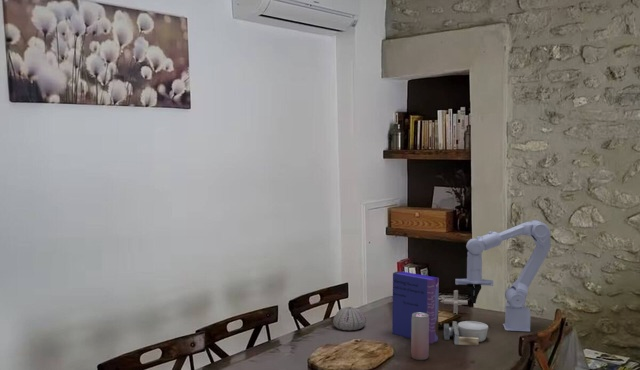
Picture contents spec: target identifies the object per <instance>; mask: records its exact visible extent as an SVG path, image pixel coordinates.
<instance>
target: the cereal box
mask: <svg viewBox="0 0 640 370" xmlns="http://www.w3.org/2000/svg"><path fill="white" fill-rule="evenodd" d="M439 282H440V278H439V277H435V276H429V275H424V274H419V273H412V272H406V271H403V270H402V271H399V270H398V271H395V272H393V273H392V318H391V319H392V325H391V327H392V329H391V331H392V332H391V333H392V335H394V336H399V337H402V338H407V339H410V340H411V317H412V314H413V313H417V312H421V313H426V314H428V315H429V345H432V344H434V343H436V342H437V343H438V341H439V297H440V296H439V291H440V290H439V289H440V287H439V285H440V284H439Z"/></svg>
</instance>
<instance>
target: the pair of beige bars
mask: <svg viewBox="0 0 640 370" xmlns="http://www.w3.org/2000/svg"><path fill="white" fill-rule="evenodd" d="M457 326H458V324H457ZM458 331H459V329H458ZM479 345H480V342H479V338H474V337H460V336H459V345H458V346H474V347H476V346H477V347H478V346H479ZM479 347H480V346H479Z"/></svg>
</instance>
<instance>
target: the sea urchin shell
mask: <svg viewBox="0 0 640 370" xmlns="http://www.w3.org/2000/svg"><path fill="white" fill-rule="evenodd" d="M332 322H333V325H334V326H335V328H337V329H339V330H343V331H357V330H360V329H362V328H363V327H364V328H365V325H366V323H367V317H366V316H365V314H364V313H363V312H362V311H361V309H359V308H355V307H352V306H348V307H343V308H340V309H339V310H338V311H337V312H336V313H335V315H334V316H333V320H332Z"/></svg>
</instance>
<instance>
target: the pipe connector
mask: <svg viewBox="0 0 640 370" xmlns="http://www.w3.org/2000/svg"><path fill="white" fill-rule="evenodd" d="M443 304H447V305H449V304H450V305H453V312H452V313H456V314H455V315H458V313H459V312H458V311H459V305H467V306H468V300H467V299H466V300H465V299H459V290H458V289H455V290H453V299H443Z"/></svg>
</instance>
